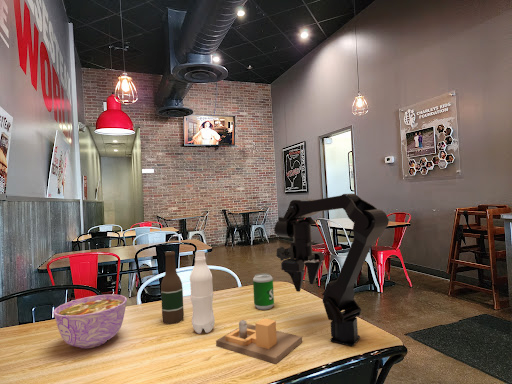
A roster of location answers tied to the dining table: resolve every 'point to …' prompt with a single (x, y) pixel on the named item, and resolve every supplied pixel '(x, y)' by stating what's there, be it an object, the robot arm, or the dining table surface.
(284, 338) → the board
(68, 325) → the bowl of food
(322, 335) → the dining table surface
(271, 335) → the square frame with handle
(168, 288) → the beer bottle
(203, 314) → the water bottle
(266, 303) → the soda can
